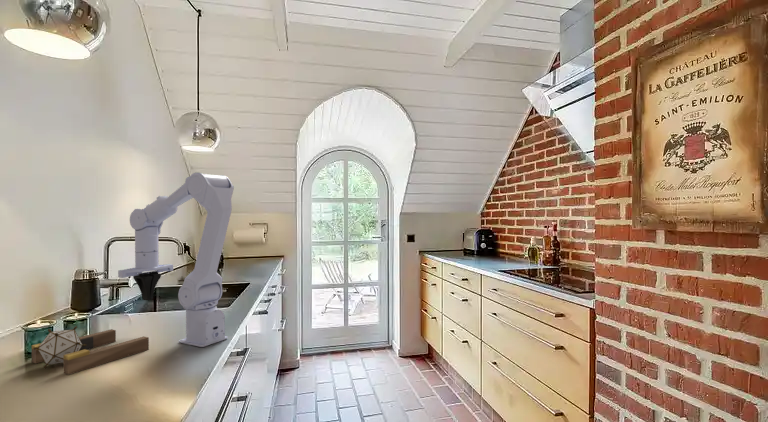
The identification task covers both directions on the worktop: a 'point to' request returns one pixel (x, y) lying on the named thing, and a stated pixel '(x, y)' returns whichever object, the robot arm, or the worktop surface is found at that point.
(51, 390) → the worktop surface
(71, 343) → the game die
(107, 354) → the twin wooden rails
